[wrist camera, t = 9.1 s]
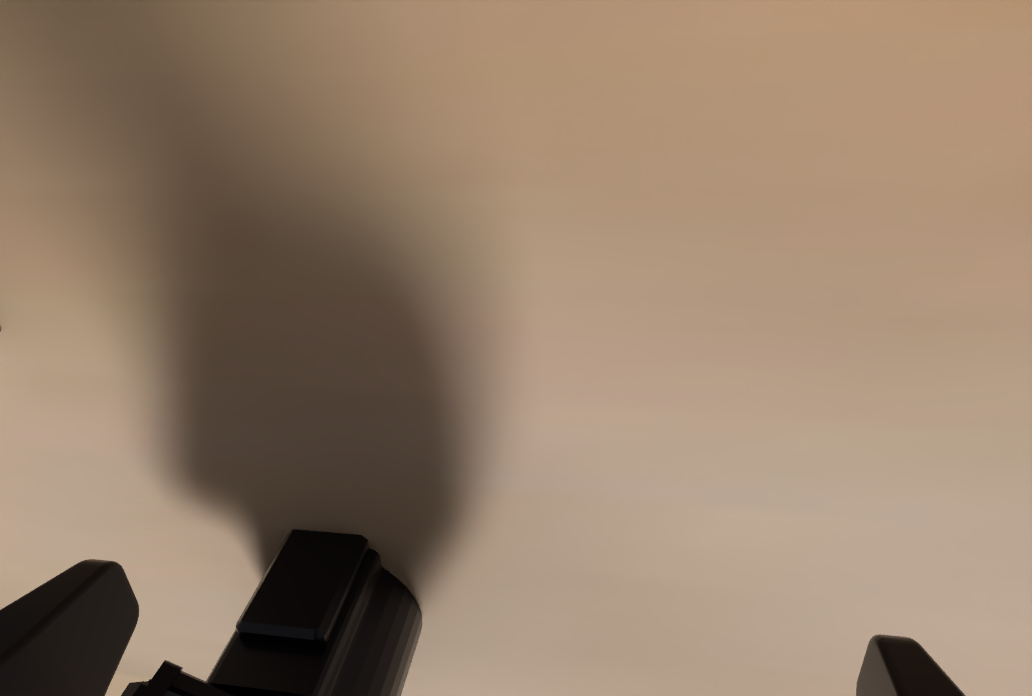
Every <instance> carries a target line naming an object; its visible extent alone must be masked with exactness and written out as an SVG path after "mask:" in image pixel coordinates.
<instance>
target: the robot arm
mask: <svg viewBox="0 0 1032 696" xmlns="http://www.w3.org/2000/svg"><path fill="white" fill-rule="evenodd" d="M138 617H139V605H138V602H137V599H136V597H135V595H134V593H133V590H132V588H131V586H130V583H129V581H128V579H127V577H126V574H125V572H124V570H123V568H122V566H121V565H120V564H118V563H117V562H114V561H105V560H95V559H89V560H84V561H81V562H80V563H78V564H76V565H74V566H73V567H71V568H69V569H68V570H66V571H64V572H63V573H61V574H59V575H58V576H56V577H54V578H53V579H51V580H49V581H48V582H46V583H44V584H43V585H41V586H39V587H38V588H36V589H34V590H33V591H31V592H29V593H28V594H26V595H24V596H23V597H21V598H19V599H18V600H16V601H14V602H13V603H11V604H10V605H8V606H6V607H5V608H3V609H1V610H0V696H105V694H106V691H107V689H108V687H109V685H110V682H111V680H112V678H113V676H114V674H115V671H116V669H117V667H118V665H119V662H120V660H121V658H122V656H123V654H124V651H125V649H126V647H127V645H128V642H129V640H130V638H131V636H132V634H133V631H134V629H135V627H136V624H137V621H138ZM421 629H422V615H421V612H420V608H419V606H418V604H417V602H416V600H415V598H414V596H413V595H412V594H411V592H410V591H409V590H408V588H407V587H406V586H405V585H404V584H403V583H402V582H401V581H400V580H398V579H397V578H396V577H395V576H394V575H392V574H391V573H389V572H388V571H387V570H385V569H384V568H383V567H382V565H381V560H380V556H379V554H378V552H376V551H375V550H372V549H369V544H368V540H367V539H366V538H364V537H363V536H362V535H354V534H342V533H330V532H319V531H307V530H295V529H293V530H292V531H291V532H290V533H289V534H288V535H287V537H286V538H285V540H284V542H283V544H282V545H281V547H280V549H279V551H278V552H277V554H276V556H275V558H274V559H273V561H272V563H271V564H270V566H269V568H268V570H267V571H266V573H265V575H264V577H263V578H262V580H261V582H260V583H259V585H258V587H257V589H256V590H255V592H254V594H253V596H252V597H251V599H250V601H249V603H248V604H247V606H246V608H245V609H244V611H243V613H242V615H241V616H240V618H239V620H238V622H237V624H236V630H235V632H234V633H233V635H232V637H231V639H230V640H229V642H228V644H227V646H226V647H225V649H224V651H223V653H222V654H221V656H220V658H219V660H218V661H217V663H216V665H215V667H214V668H213V670H212V672H211V673H210V675H209V677H208V679H207V680H206V682H205V681H203V680H201V679H199V678H196V677H194V676H192V675H190V674H187V673H185V672H183V671H182V668H183V667H180V666H178V665H176V664H173V663H171V662H169V661H167V660H165V661H164V662H163V664H162V665H161V667H160V668H159V669H158V671H157V672H156V674H155V675H154V676H153V678H152V679H150V680H149V681H147V682H144V681H143V682H134V683H129V685H128V686H127V687H126V689H125V690H124V692H123V693H122V695H121V696H401V693H402V690H403V687H404V684H405V681H406V677H407V674H408V671H409V668H410V665H411V662H412V658H413V655H414V652H415V649H416V646H417V643H418V640H419V636H420V633H421ZM856 696H965V695H964V693H963V692H962V691H961V690H960V689H959V688H958V687H957V686H956V684H955V683H954V682H953V681H952V680H951V679H950V678H949V677H948V675H947V674H946V673H945V672H944V671H943V670H942V669H941V668H940V666H939V665H938V664H937V663H936V662H935V661H934V660H933V659H932V657H931V656H930V655H929V654H928V653H927V652H926V651H925V650H924V648H923V647H922V646H921V645H920V644H919V643H918V642H916V641H915V640H913V639H911V638H908V637H900V636H889V635H875V636H873V637H872V638H871V639H870V641H869V644H868V647H867V650H866V654H865V657H864V660H863V664H862V667H861V670H860V674H859V677H858V681H857V688H856Z"/></svg>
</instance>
